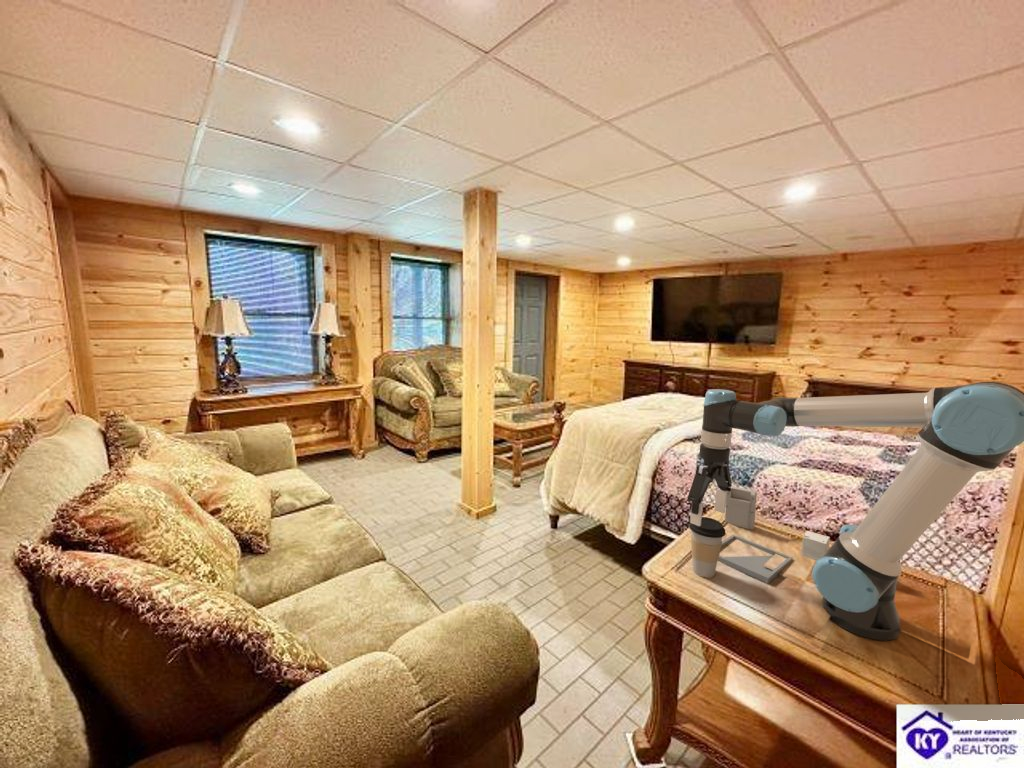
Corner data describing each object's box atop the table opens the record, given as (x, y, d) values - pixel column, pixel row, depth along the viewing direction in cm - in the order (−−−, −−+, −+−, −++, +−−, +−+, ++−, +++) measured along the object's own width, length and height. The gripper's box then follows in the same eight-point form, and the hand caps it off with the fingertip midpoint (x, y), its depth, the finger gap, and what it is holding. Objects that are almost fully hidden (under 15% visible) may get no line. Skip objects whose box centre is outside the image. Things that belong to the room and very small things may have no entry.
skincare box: (827, 559, 133) (830, 536, 131) (824, 567, 128) (827, 543, 127) (804, 551, 137) (807, 529, 136) (799, 559, 132) (802, 536, 131)
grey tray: (792, 563, 130) (792, 557, 130) (767, 584, 119) (768, 578, 119) (732, 539, 143) (733, 534, 143) (705, 556, 133) (706, 551, 132)
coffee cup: (714, 564, 129) (718, 516, 126) (726, 583, 119) (731, 531, 117) (681, 561, 129) (685, 514, 127) (691, 580, 120) (695, 529, 118)
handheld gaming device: (752, 534, 147) (754, 528, 150) (755, 495, 144) (756, 490, 147) (724, 527, 153) (726, 522, 156) (726, 489, 149) (728, 484, 152)
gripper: (723, 435, 130) (716, 502, 133) (678, 449, 115) (671, 524, 118) (749, 441, 124) (741, 511, 127) (705, 457, 109) (697, 535, 112)
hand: (707, 517), depth 123 cm, fingers open, 13 cm apart
